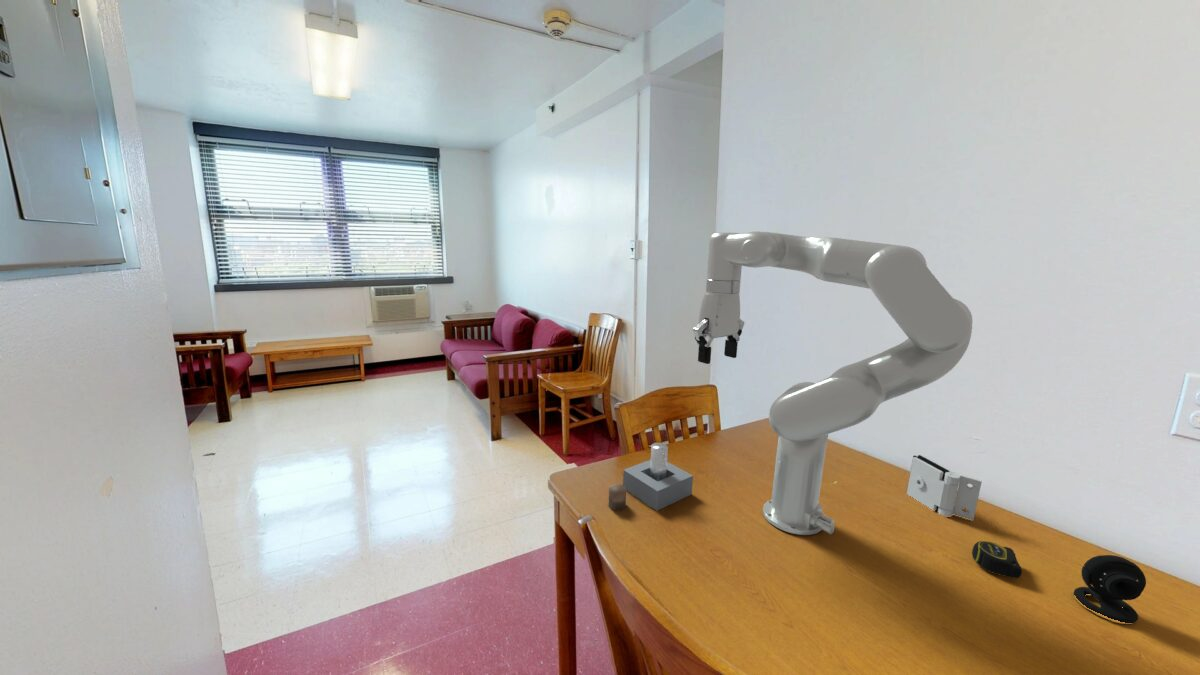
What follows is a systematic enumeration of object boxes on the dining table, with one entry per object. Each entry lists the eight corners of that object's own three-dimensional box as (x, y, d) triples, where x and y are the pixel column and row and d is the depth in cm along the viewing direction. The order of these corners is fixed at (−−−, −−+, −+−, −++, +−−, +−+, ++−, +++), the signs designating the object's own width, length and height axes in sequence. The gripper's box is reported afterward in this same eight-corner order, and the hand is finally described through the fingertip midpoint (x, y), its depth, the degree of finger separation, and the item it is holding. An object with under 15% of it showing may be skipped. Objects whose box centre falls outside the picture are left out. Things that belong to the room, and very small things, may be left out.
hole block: (691, 494, 111) (693, 475, 110) (656, 510, 104) (657, 491, 102) (657, 474, 120) (658, 456, 119) (622, 488, 113) (623, 469, 112)
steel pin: (668, 492, 111) (671, 447, 109) (657, 497, 109) (659, 451, 106) (657, 485, 114) (659, 441, 112) (645, 490, 112) (647, 445, 110)
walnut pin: (629, 506, 105) (629, 489, 104) (615, 512, 103) (616, 494, 102) (618, 498, 108) (618, 481, 107) (605, 504, 106) (605, 487, 105)
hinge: (975, 521, 102) (983, 481, 100) (960, 526, 100) (969, 485, 98) (913, 490, 115) (919, 453, 112) (899, 494, 113) (905, 457, 110)
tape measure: (1020, 585, 83) (1024, 568, 82) (972, 570, 87) (976, 553, 86) (1012, 564, 89) (1016, 547, 88) (968, 550, 92) (972, 534, 91)
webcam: (1088, 617, 76) (1103, 566, 74) (1062, 586, 83) (1075, 538, 81) (1150, 632, 73) (1168, 578, 71) (1118, 598, 80) (1133, 549, 78)
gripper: (732, 284, 112) (727, 351, 115) (684, 287, 101) (680, 361, 105) (759, 287, 106) (752, 357, 109) (711, 291, 96) (706, 369, 99)
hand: (717, 359), depth 107 cm, fingers open, 9 cm apart
